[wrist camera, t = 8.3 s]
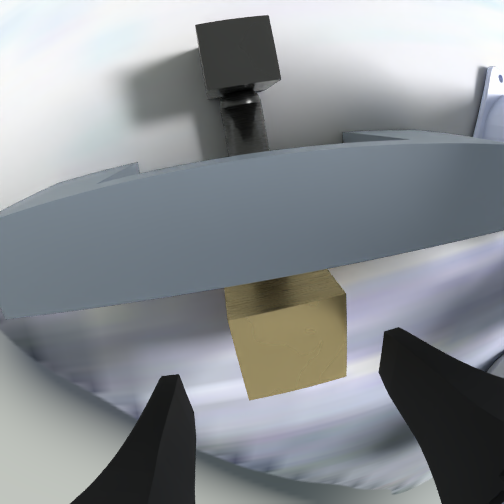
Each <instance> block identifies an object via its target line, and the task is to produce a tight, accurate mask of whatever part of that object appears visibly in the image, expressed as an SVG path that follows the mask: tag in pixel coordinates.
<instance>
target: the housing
mask: <svg viewBox="0 0 504 504" xmlns="http://www.w3.org/2000/svg"><path fill="white" fill-rule="evenodd" d="M342 133H343V143H340V144H328V145H317V146H307V147H298V148H289V149H280V150H272V151H265V152H257V153H250V154H243V155H237V156H230V157H224V158H218V159H212V160H206V161H200V162H195V163H189V164H184V165H179V166H174V167H169V168H164V169H159V170H154V171H150V172H145V173H140V172H139V167H138V162H136V163H132V164H128V165H123V166H119V167H115V168H111V169H107V170H103V171H100V172H96V173H92V174H88V175H85V176H81V177H78V178H74V179H71V180H67V181H64V182H61V183H58V184H55V185H53V186H51V187H49V188H47V189H44V190H42V191H40V192H38V193H36V194H34V195H32V196H30V197H28V198H26V199H23V200H21V201H19V202H17V203H16V204H14V205H12V206H10V207H8V208H6V209H4V210H2V211H0V308H1V310H2V313H3V315H4V317H5V319H14V318H22V317H30V316H38V315H46V314H54V313H62V312H69V311H77V310H84V309H91V308H98V307H105V306H112V305H119V304H126V303H132V302H139V301H145V300H152V299H158V298H165V297H171V296H177V295H183V294H189V293H195V292H201V291H207V290H213V289H219V288H225V287H231V286H237V285H242V284H248V283H254V282H259V281H265V280H270V279H276V278H281V277H286V276H292V275H297V274H302V273H308V272H313V271H318V270H323V269H328V268H334V267H339V266H344V265H349V264H354V263H359V262H364V261H368V260H373V259H378V258H383V257H388V256H392V255H397V254H402V253H407V252H411V251H416V250H420V249H425V248H430V247H434V246H439V245H443V244H447V243H452V242H456V241H461V240H465V239H469V238H474V237H478V236H482V235H486V234H491V233H495V232H499V231H503V230H504V143H503V142H498V141H493V140H487V139H481V138H475V137H469V136H462V135H455V134H448V133H440V132H432V131H423V130H375V131H354V132H342Z"/></svg>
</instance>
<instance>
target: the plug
mask: <svg viewBox="0 0 504 504" xmlns="http://www.w3.org/2000/svg"><path fill="white" fill-rule="evenodd" d="M195 26H196V34H197V41H198V48H199V54H200V59H201V65H202V70H203V76H204V81H205V87H206V92H207V98H208V99H213V98H219V97H222V99H221V102H220V110H221V115H222V121H223V126H224V131H225V137H226V142H227V147H228V153H229V157H230V156H237V155H243V154H250V153H257V152H265V151H269V146H268V140H267V134H266V129H265V123H264V117H263V111H262V106H261V101H260V98H259V96H258V94H257V93H256V92H255V91H263V90H266V89H267V88H269V87H270V86H272V85H274V84H275V83H277V82H278V81H280V80H281V76H280V70H279V65H278V60H277V54H276V49H275V44H274V39H273V34H272V29H271V25H270V20H269V15H265V16H254V17H245V18H236V19H229V20H222V21H215V22H209V23H203V24H198V25H195ZM224 291H225V300H226V309H227V318H228V323H229V327H230V331H231V335H232V339H233V343H234V346H235V350H236V354H237V358H238V361H239V365H240V369H241V372H242V376H243V380H244V383H245V387H246V390H247V394H248V398H249V400H254V399H259V398H263V397H268V396H273V395H277V394H282V393H286V392H290V391H294V390H298V389H302V388H306V387H310V386H314V385H318V384H321V383H325V382H329V381H332V380H336V379H339V378H342V377H346V367H347V311H346V293H345V292H344V290H343V289H342V288H341V286H340V285H339V284H338V283H337V281H336V280H335V279H334V277H333V276H332V275H331V274H330V272H329V271H328V270H327V269H323V270H318V271H313V272H308V273H302V274H297V275H292V276H286V277H281V278H276V279H270V280H265V281H259V282H254V283H248V284H242V285H237V286H231V287H225V288H224Z"/></svg>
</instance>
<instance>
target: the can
mask: <svg viewBox="0 0 504 504" xmlns="http://www.w3.org/2000/svg"><path fill="white" fill-rule="evenodd" d="M487 373H490V374H493V375H495V376H499V377H502V378H504V354H503V355H502V356H501V357H500V358H499V359H497V360H496V361H495V362H494V364H493V365H492V366H491V367H490V368H489V369H488V371H487Z"/></svg>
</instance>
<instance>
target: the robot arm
mask: <svg viewBox="0 0 504 504" xmlns="http://www.w3.org/2000/svg"><path fill="white" fill-rule="evenodd" d="M498 78H499V79H498ZM473 137H475V138H481V139H487V140H493V141H498V142H503V143H504V74H503V73H502V72H501V71H500V70H499V69H498V68H496V67H495V66H490V67H488V69H487V75H486V80H485V86H484V91H483V96H482V101H481V106H480V110H479V114H478V119H477V123H476V127H475V131H474V135H473ZM379 374H380V376H381V379H382V381H383V383H384V386H385V388H386V390H387V392H388V394H389V396H390V397H391V399H392V401H393V402H394V404H395V406H396V407H397V409H398V410H399V412H400V414H401V415H402V417H403V418H404V420H405V421H406V423H407V425H408V426H409V428H410V429H411V431H412V433H413V434H414V436H415V438H416V439H417V441H418V443H419V445H420V447H421V449H422V452H423V454H424V456H425V458H426V461H427V463H428V465H429V468H430V471H431V473H432V476H433V478H434V481H435V484H436V487H437V490H438V493H439V496H440V499H441V503H442V504H504V378H502V377H499V376H495V375H493V374H490V373H487V372H484V371H482V370H479V369H477V368H474V367H472V366H470V365H468V364H466V363H463V362H461V361H459V360H457V359H455V358H453V357H451V356H449V355H447V354H446V353H444V352H442V351H440V350H438V349H436V348H435V347H433V346H431V345H429V344H428V343H426V342H424V341H422V340H421V339H419V338H417V337H416V336H414V335H412V334H410V333H409V332H407V331H405V330H403V329H401V328H399V327H398V328H395V329H391V330H388V331H385V332H384V338H383V346H382V353H381V360H380V367H379ZM195 460H196V429H195V418H194V411H193V409H192V406H191V404H190V401H189V399H188V396H187V394H186V391H185V389H184V386H183V384H182V381H181V378H180V376H179V374H177V375H168V376H162V377H161V378H160V379H159V381H158V383H157V385H156V387H155V389H154V391H153V393H152V395H151V397H150V399H149V401H148V403H147V405H146V407H145V409H144V410H143V412H142V414H141V416H140V418H139V419H138V421H137V423H136V425H135V426H134V428H133V430H132V431H131V433H130V435H129V436H128V437H127V439H126V441H125V442H124V444H123V445H122V447H121V448H120V450H119V451H118V452H117V454H116V455H115V457H114V458H113V459H112V460H111V462H110V463H109V464H108V466H107V467H106V468H105V469H104V470H103V471H102V473H101V474H100V475H99V476H98V477H97V478H96V479H95V481H94V482H93V483H92V484H91V485H90V486H89V487H88V488H87V489H86V490H85V491H83V492H82V493H81V494H80V495H79V496H78V497H77V498H76V499H75V500H74V501H72V502H71V503H70V504H195Z"/></svg>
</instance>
